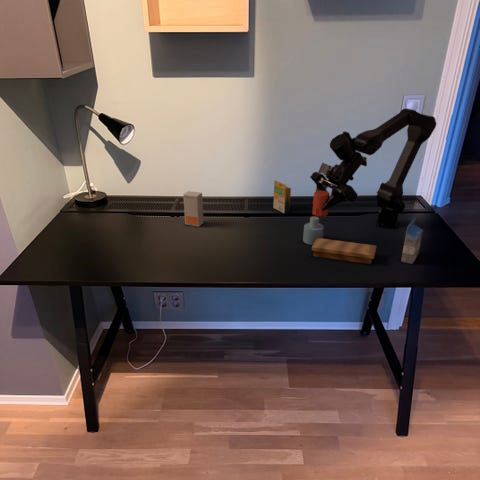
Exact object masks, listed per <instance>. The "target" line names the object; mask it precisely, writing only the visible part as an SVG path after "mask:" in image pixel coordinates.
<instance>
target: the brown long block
mask: <svg viewBox="0 0 480 480" xmlns="http://www.w3.org/2000/svg"><path fill="white" fill-rule="evenodd" d="M377 246H378V245H374V244H367V243H358V242H351V241H345V240H344V241H343V240H336V239H328V238H323V239H321V238H316V240H315V242H314V244H313V245H312V246H311V251H313V253H312V254H313V257H315V258H316V257H317V258H324V259H331V260H338V261H345V262H352V263H358V264H365V265H366V264H367V265H372V261H373V260H374V259H375V256H376V251H377Z"/></svg>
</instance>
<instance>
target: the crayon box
mask: <svg viewBox="0 0 480 480" xmlns="http://www.w3.org/2000/svg"><path fill="white" fill-rule="evenodd" d="M273 182H274V183H273V185H274V186H273V205H272V207H273V208H272V209H274V210H276V211H279V212H280V213H282V214H288V213H290V211H291V210H290V209H291V195H292V194H291V193H292V188H291V187H289V186H287V184H285V183H283V182H281V181H277V180H274V181H273Z"/></svg>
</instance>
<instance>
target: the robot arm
mask: <svg viewBox="0 0 480 480" xmlns="http://www.w3.org/2000/svg"><path fill="white" fill-rule="evenodd" d="M436 126H437V122H436V118H435V116H432V115H427V114H423V113H420V112H419V111H417V110H415V109H411V108H403V109H401V110H400V112H399V113H396V114H395V115H394V116H393V117H391V118H389V119H388V120H386V121H385V122H383V123H382V124H380V125H379V126H377V127H375V128H373V129H369V130H364V131H362V132H360V133H358V134H357V135H356V136H355V137H352V136H351V134H350V132H349V131H346V130H345V131H343V132H342V133H339V134H337V135H336V136H335V137H333V138H332V139H330V142H329V148H330V149H331V151H332V152H333V153H334V155H335V156H336V158H338V160H340V161H341V162H340V163H339V164H337V163H336V164H334V165H333V166H332V165H331V164H330V165H329V164H327V163H325V162H321V165H320V166H319V169H318V171H313V172H312V174H311V175H310V176H309V178H310V179H311V180H312V182H314V184H315V187H316V188H315V192H316V191H327V192H329V191H328V190H327V189H328V188H330V189H331V194H330V195H329V198H328V200H327V201H326V202H325V204H324V205H323V207H322V210H323V211H325V210H326V209H328V210H329V209H330V208H332V207H334V206H336V205H338V204H341V203H343V202H346V201H349V202H351V203H353V204H354V203H355V202H356V201H357V199H358V192H357V191H356V190H355V189H354V188H353V186H352V185H349V184H348V182H349V181H351V182H352V181H353V180H354V179H355V178H354V175H355V174H356V172H357V171H358V170H359V168H360V167H361V166H363V167H367V166H368V161H367V159H368V157H366V156H372V155H374V154H376V152H378V151H379V150H380V149H381V148H382V146H383V144H384V142H385V141H386V140H388V139H389V138H391V137H393V136H394V135H396V134H397V133H398V132H400V131H401V130H403V129H404V128H406V127H407V129H406V134H407V140H406V142H405V144H404V147H403V148H402V151H401V153H400V155H399V158H398V160H397V162H396V164H395V166H394V168H393V171H392V173H391V175H390V177H389V179H388V180H387V181H385V182H382V183H380V185H379V188H378V190H377V191H376V197H375V198H376V201H377V207H379V208H381V209H380V210H379V211H378V217H377V226H378V227H380V228H388V229H389V228H390V229H396V228H397V225H398V218H399V214H401V213H402V212H404V211H405V208H406V204H405V202H404V200H402V198H403V196H404V186H403V185H404V183H405V181H406V178H407V177H408V174H409V172H410V170H411V167H412V165H413V163H414V161H415V159H416V157H417V155H418V152H419V151H420V149H421V146H422V144H423V143H425V142H426V141H428V139H430V138H431V136H432V134H433V132H434V131H435V129H436ZM362 154H364V155H366V156H363V155H362ZM311 201H312V202H311V205H312V206H313V201H314V197H313V198H312V200H311Z"/></svg>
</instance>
